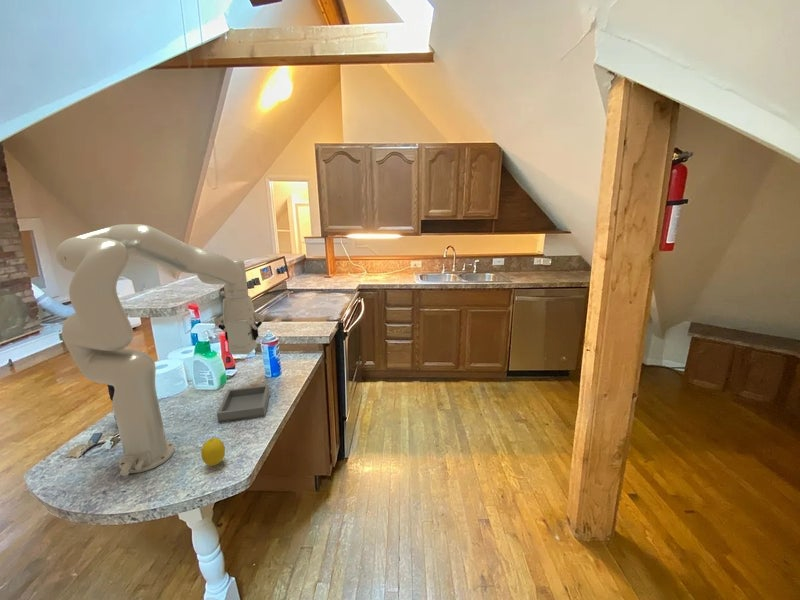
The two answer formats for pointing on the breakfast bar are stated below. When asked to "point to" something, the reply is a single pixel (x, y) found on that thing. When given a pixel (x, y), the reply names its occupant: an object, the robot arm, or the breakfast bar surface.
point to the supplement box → (240, 337)
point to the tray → (244, 404)
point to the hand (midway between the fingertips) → (242, 340)
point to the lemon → (213, 451)
